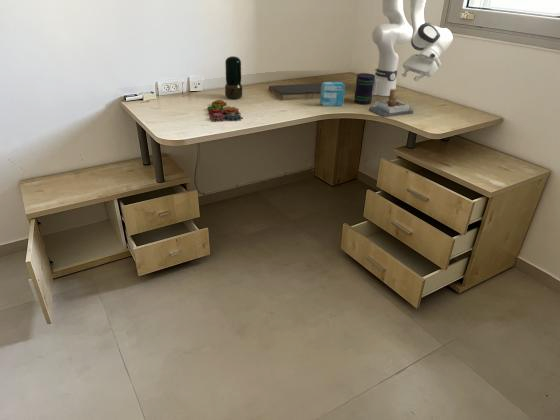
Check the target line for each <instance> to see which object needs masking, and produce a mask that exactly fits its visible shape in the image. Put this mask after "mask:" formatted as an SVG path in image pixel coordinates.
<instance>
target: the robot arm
mask: <svg viewBox="0 0 560 420" xmlns="http://www.w3.org/2000/svg"><path fill="white" fill-rule="evenodd" d="M426 2H427V0H408V4H409V9H410V18H411V24H409V22H408V20H407V18H406V15H405V12H404V0H382V14H383V16H385V17H386V18H387V19H388V22H389V23H382V24H379V25H376V26H375V27H374V28H373V30H372V32H371V38H372V39H371V40H372V41H373V43H374V44H375V45H376V46H377V50H378V66H377V68H376V69H374V72H375V73H374V75H375V80H374V86H373V91H372V93H373V94H372V96H381V97H389V95H390V89H397V76H398V65H399V58H400V57H399V54H398V53H397V52H396V51H395V49H394V45H402V44H403V45H404V44H406V43H411V46H412V48H413V49H414V50H416V51H420V53H419V54H417V53H415V54H412V55H410V56H409V57H408V58H407V59H405V61H404V62H402V68H404V70H403V73H401V76H402V77H404V78H405V77H406V76H407V75H408V74H407V73H409V71H410V72H413V73H416V74H418V75H415V76H414V78H413V81H415V82H418V81H419V80H420V79H422V78H424V77H427V78H430V77H432V76H434V74H435V73H436V72H437V71H438V69H439V68H440V67H442V63H441V59H439V58H440V56H441V55H442V54H444V52H446V51H447V49H449V47H450V45H451V44H452V43H453V40H454V37H453V33H452V32H451V30H450V29H448V28H446V27H443V28H442V27H439V26H436V25H434V24H433V23H432V22H425V15H424V13H425V12H424V10H425V6H426Z"/></svg>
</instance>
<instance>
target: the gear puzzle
mask: <svg viewBox="0 0 560 420" xmlns="http://www.w3.org/2000/svg"><path fill="white" fill-rule="evenodd" d="M206 110H207V111H208V112H207V113H208V116H209V119H210V123H211V122H212V123H216V122H219V121H220V122H232V121H236V122H238V121H239V122H240V121H242V120H243V119H244V118H243V116H241V114H242V112H240V111H239V110H240V109H239V108H238V107H237V108H236V106H228V104H227V102H226V101H225V100H222V99H216V100H214V101H212V102H211V105H209V106H207V109H206Z"/></svg>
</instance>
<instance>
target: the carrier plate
mask: <svg viewBox="0 0 560 420" xmlns="http://www.w3.org/2000/svg"><path fill="white" fill-rule="evenodd" d="M388 101H389V99H385V100H384V99H383V100H381V99H380V100H375V103H374V106H369V107H368V110H369V111H370V112H372V113H374V114H376V115H379V116H381V117H383V118H387V117H395V116H404V115H411V114H414V110H413V109H411V108H410V105H409V104H407V103H405V102H402V101H400V100H398V99H397V100H396V105H397V106H393V107H390V106H388V105H386V104H388Z"/></svg>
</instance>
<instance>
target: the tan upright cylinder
mask: <svg viewBox="0 0 560 420" xmlns="http://www.w3.org/2000/svg"><path fill="white" fill-rule="evenodd" d="M398 94H399V89H397V88H396V89H390V95H389V96H388V100H389V101H388V104H386V105H388V106H390V107H393V106H397V105H396V100H397V101H398Z"/></svg>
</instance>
